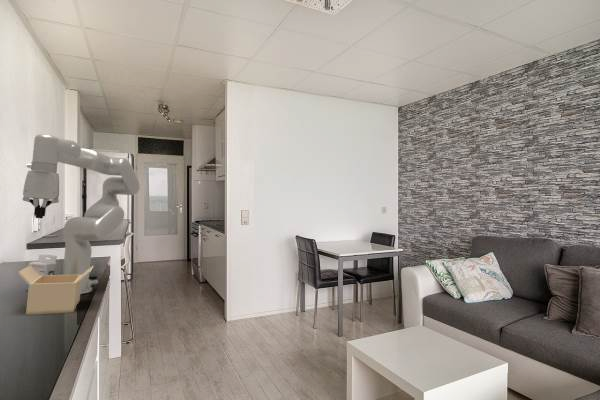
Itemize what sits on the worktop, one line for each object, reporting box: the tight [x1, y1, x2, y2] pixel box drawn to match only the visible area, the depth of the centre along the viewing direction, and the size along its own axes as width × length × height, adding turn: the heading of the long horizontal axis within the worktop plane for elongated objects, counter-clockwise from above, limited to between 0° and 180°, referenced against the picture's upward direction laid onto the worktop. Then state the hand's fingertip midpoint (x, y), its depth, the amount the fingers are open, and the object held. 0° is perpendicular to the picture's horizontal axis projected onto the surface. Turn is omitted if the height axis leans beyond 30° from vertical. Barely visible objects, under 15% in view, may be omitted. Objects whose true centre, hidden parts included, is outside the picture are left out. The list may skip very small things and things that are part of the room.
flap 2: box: [77, 265, 95, 283], centre depth 124 cm, size 5×14×1 cm
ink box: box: [25, 253, 57, 290], centre depth 141 cm, size 9×5×15 cm, turn 84°
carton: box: [25, 274, 82, 316], centre depth 120 cm, size 16×13×10 cm
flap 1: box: [17, 264, 40, 284], centre depth 117 cm, size 5×14×1 cm
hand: (39, 218), depth 124 cm, fingers closed
